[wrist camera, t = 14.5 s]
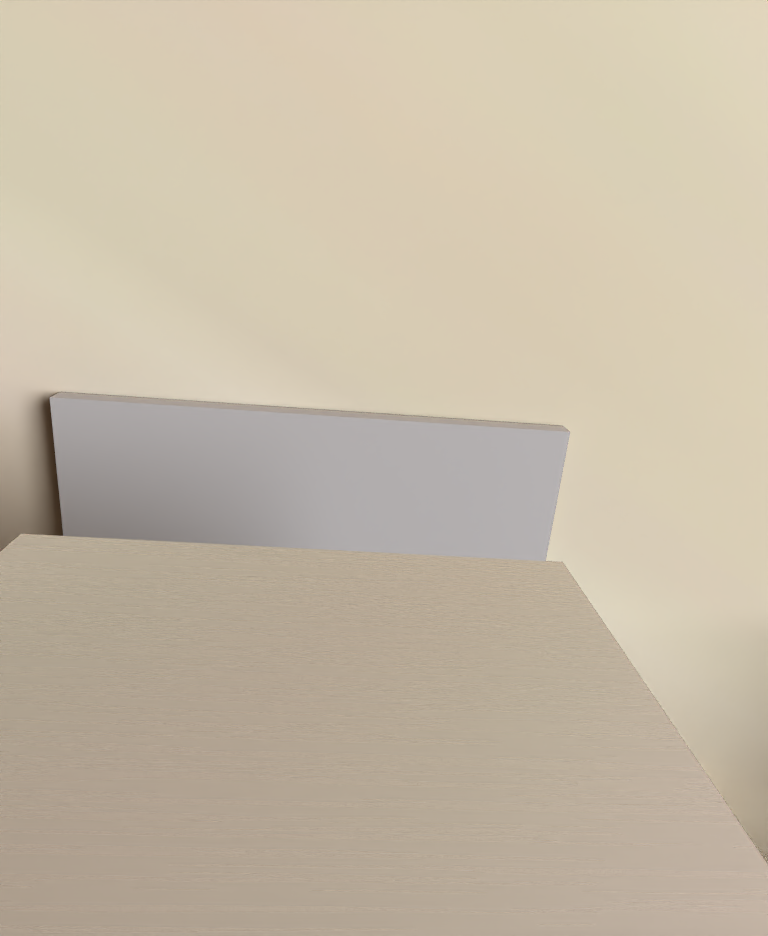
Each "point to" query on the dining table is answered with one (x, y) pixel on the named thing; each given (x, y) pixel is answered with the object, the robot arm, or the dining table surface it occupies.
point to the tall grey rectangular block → (341, 753)
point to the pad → (305, 477)
